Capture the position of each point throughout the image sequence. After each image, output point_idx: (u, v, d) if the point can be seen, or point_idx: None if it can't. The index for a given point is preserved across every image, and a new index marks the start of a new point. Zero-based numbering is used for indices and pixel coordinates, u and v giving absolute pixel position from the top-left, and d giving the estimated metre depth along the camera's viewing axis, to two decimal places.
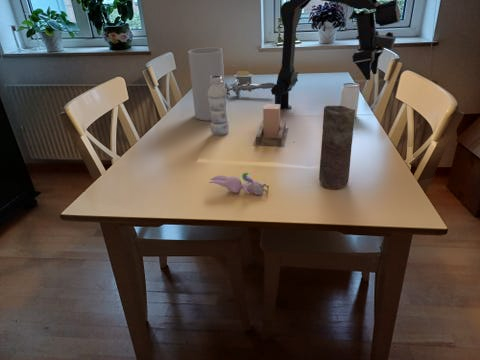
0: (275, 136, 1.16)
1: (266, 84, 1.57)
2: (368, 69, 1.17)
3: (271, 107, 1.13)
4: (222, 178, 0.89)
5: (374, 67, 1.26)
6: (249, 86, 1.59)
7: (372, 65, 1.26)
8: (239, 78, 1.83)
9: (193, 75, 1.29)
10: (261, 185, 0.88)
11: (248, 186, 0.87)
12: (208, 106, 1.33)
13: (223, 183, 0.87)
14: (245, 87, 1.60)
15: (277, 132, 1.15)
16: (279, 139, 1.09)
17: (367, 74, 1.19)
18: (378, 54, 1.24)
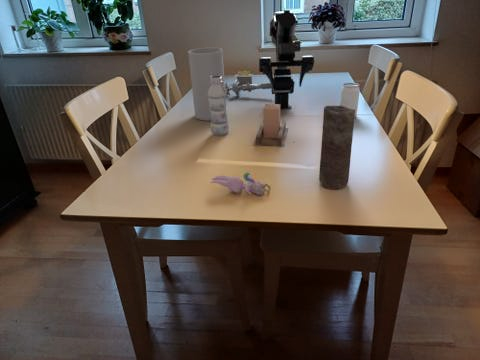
0: (275, 136, 1.16)
1: (266, 84, 1.57)
2: (269, 76, 1.21)
3: (271, 107, 1.13)
4: (223, 178, 0.89)
5: (299, 79, 1.21)
6: (249, 86, 1.59)
7: None
8: (240, 78, 1.82)
9: (193, 75, 1.29)
10: (262, 185, 0.88)
11: (249, 186, 0.87)
12: (208, 106, 1.33)
13: (224, 183, 0.87)
14: (245, 87, 1.60)
15: (277, 132, 1.15)
16: (279, 139, 1.09)
17: None
18: (301, 66, 1.20)
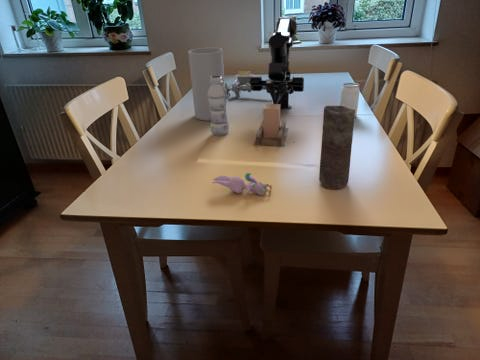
0: (275, 136, 1.16)
1: None
2: (271, 95, 1.22)
3: (271, 107, 1.13)
4: (225, 178, 0.88)
5: None
6: (248, 87, 1.58)
7: None
8: (240, 78, 1.82)
9: (193, 75, 1.29)
10: (264, 185, 0.88)
11: (251, 186, 0.87)
12: (208, 106, 1.33)
13: (226, 183, 0.86)
14: (245, 87, 1.59)
15: (277, 132, 1.15)
16: (279, 139, 1.09)
17: (273, 100, 1.22)
18: None
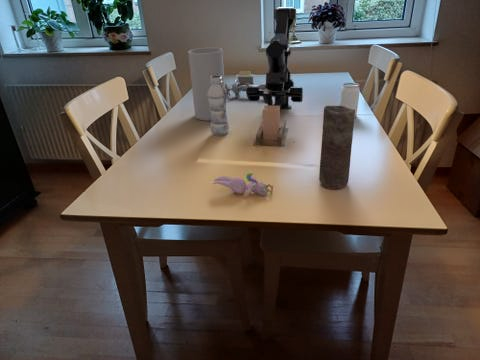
0: (274, 138, 1.15)
1: (265, 85, 1.56)
2: (268, 105, 1.17)
3: (270, 109, 1.11)
4: (226, 179, 0.88)
5: None
6: None
7: None
8: (241, 78, 1.82)
9: (193, 75, 1.29)
10: (265, 185, 0.88)
11: (252, 186, 0.87)
12: (208, 106, 1.33)
13: (227, 184, 0.86)
14: (244, 88, 1.59)
15: (276, 134, 1.14)
16: (279, 139, 1.09)
17: None
18: None
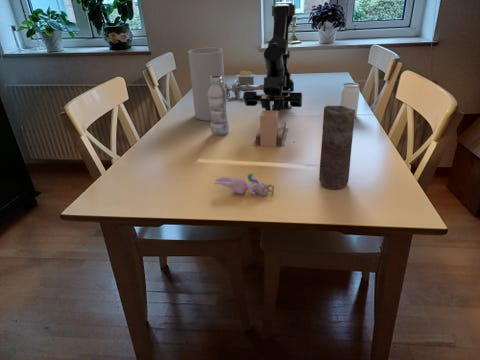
0: (273, 144, 1.10)
1: None
2: None
3: (268, 114, 1.07)
4: (227, 179, 0.88)
5: None
6: (248, 87, 1.58)
7: None
8: (241, 78, 1.82)
9: (193, 75, 1.29)
10: (266, 186, 0.88)
11: (253, 187, 0.87)
12: (208, 106, 1.33)
13: (228, 184, 0.86)
14: (244, 88, 1.59)
15: (275, 140, 1.09)
16: (279, 139, 1.09)
17: None
18: None
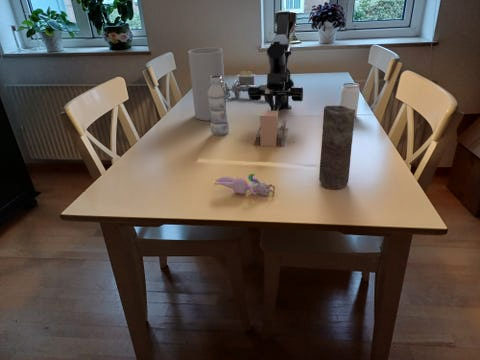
0: (273, 144, 1.10)
1: (265, 86, 1.55)
2: (270, 105, 1.20)
3: (268, 114, 1.07)
4: (228, 179, 0.88)
5: None
6: (248, 87, 1.58)
7: None
8: (242, 78, 1.82)
9: (193, 75, 1.29)
10: (267, 186, 0.87)
11: (254, 187, 0.87)
12: (208, 106, 1.33)
13: (229, 184, 0.86)
14: (244, 88, 1.59)
15: (275, 140, 1.09)
16: (279, 139, 1.09)
17: None
18: None
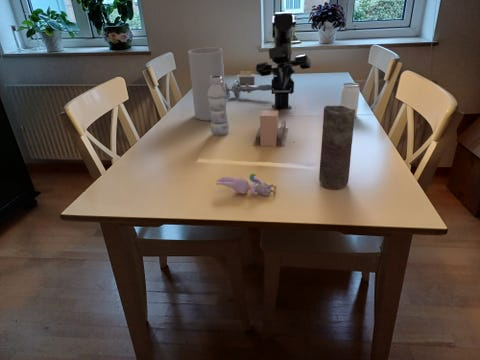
0: (273, 144, 1.10)
1: (264, 86, 1.55)
2: None
3: (268, 114, 1.07)
4: (229, 179, 0.88)
5: None
6: (248, 87, 1.57)
7: None
8: (242, 78, 1.82)
9: (193, 75, 1.29)
10: (268, 186, 0.87)
11: (255, 187, 0.87)
12: (208, 106, 1.33)
13: (230, 184, 0.86)
14: (244, 88, 1.58)
15: (275, 140, 1.09)
16: (279, 139, 1.09)
17: None
18: None
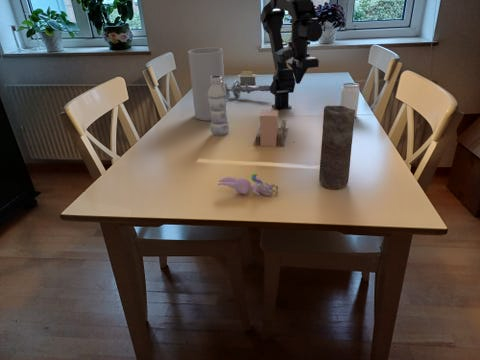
0: (273, 144, 1.10)
1: (264, 87, 1.54)
2: None
3: (268, 114, 1.07)
4: (231, 180, 0.88)
5: None
6: (247, 88, 1.57)
7: None
8: (243, 78, 1.82)
9: (193, 75, 1.29)
10: (270, 186, 0.87)
11: (257, 187, 0.87)
12: (208, 106, 1.33)
13: (232, 185, 0.86)
14: (243, 88, 1.58)
15: (275, 140, 1.09)
16: (279, 139, 1.09)
17: None
18: None
